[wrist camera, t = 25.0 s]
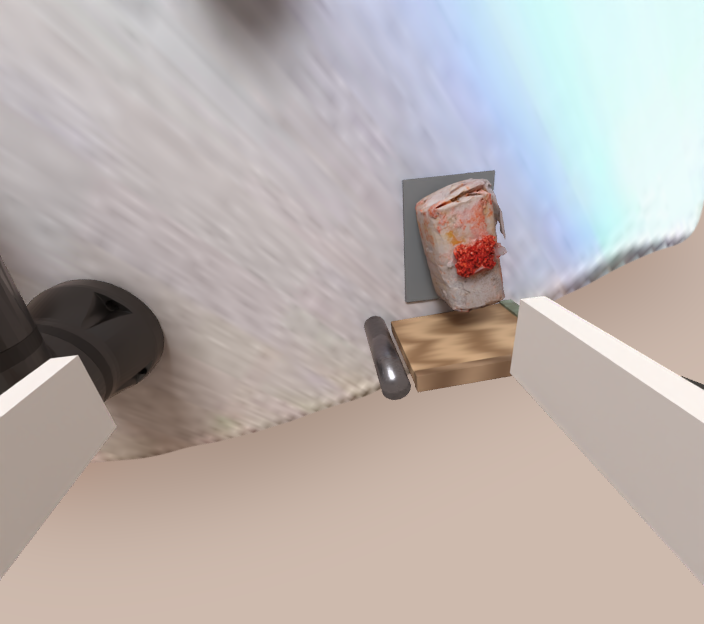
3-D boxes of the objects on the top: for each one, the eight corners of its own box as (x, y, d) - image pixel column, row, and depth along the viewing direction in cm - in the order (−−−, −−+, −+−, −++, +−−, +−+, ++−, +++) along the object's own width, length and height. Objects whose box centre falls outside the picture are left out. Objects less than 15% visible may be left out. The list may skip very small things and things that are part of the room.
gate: (392, 333, 45) (417, 392, 34) (390, 319, 44) (416, 375, 33) (509, 313, 46) (575, 365, 34) (510, 299, 45) (578, 347, 33)
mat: (405, 301, 45) (406, 302, 44) (402, 180, 38) (403, 180, 38) (482, 291, 45) (484, 292, 45) (493, 170, 38) (494, 170, 38)
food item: (403, 197, 38) (429, 208, 29) (467, 172, 38) (513, 175, 29) (430, 296, 44) (459, 329, 35) (486, 275, 44) (529, 304, 35)
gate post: (365, 336, 46) (382, 401, 34) (363, 317, 45) (381, 378, 32) (385, 333, 46) (410, 397, 34) (384, 314, 45) (410, 374, 32)
